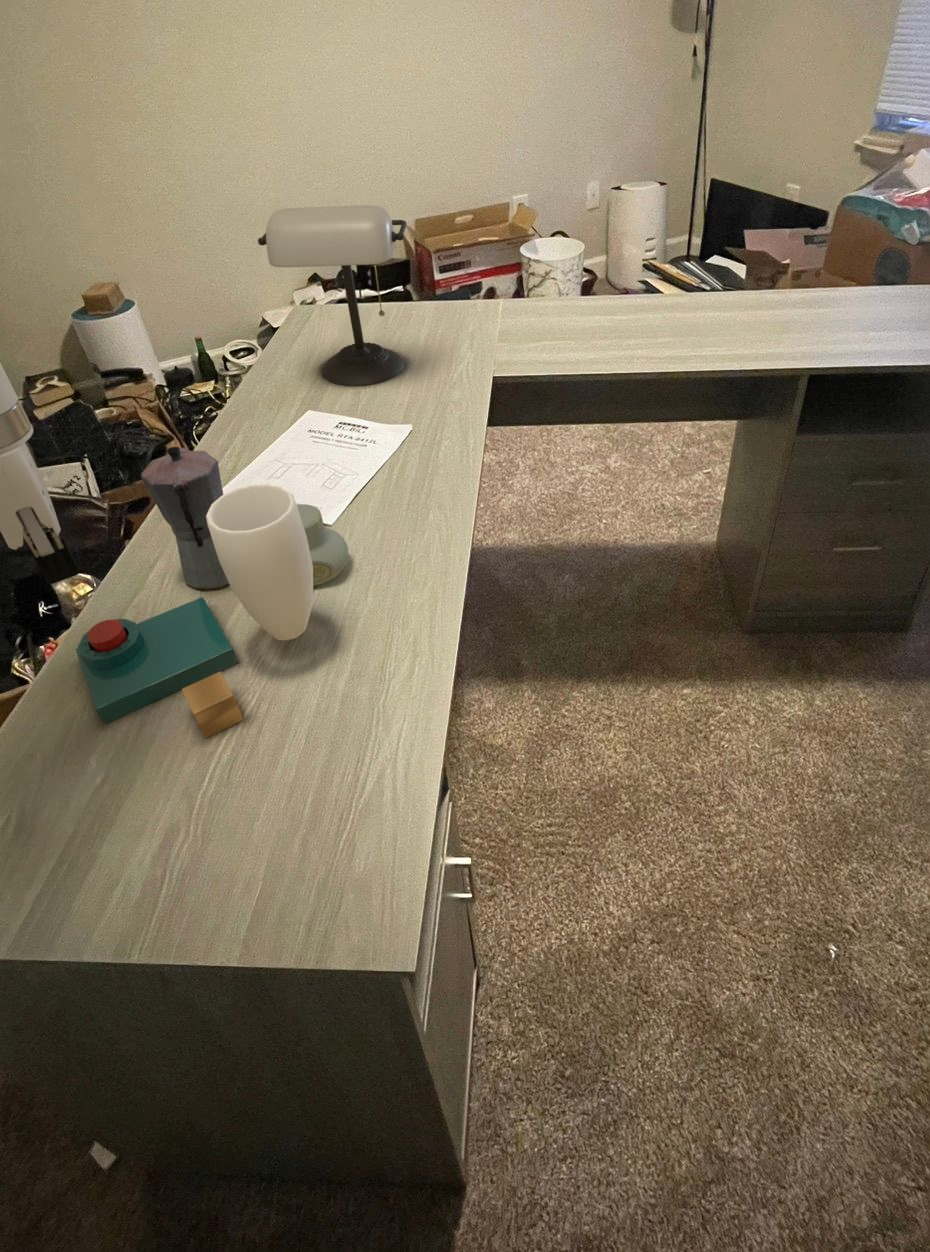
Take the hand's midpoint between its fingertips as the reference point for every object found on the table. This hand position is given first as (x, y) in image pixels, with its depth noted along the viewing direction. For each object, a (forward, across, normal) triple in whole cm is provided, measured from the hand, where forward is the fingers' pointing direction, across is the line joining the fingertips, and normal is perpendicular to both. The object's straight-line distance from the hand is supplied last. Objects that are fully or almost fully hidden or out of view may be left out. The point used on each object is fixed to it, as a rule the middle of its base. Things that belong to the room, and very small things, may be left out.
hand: (63, 575), depth 81 cm
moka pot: (+16, -12, +17) cm, 26 cm away
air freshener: (+16, -4, +28) cm, 33 cm away
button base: (+16, +1, +5) cm, 17 cm away
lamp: (+16, -59, +63) cm, 88 cm away
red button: (+12, -2, +1) cm, 12 cm away
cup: (+16, +8, +20) cm, 27 cm away
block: (+16, +14, +8) cm, 23 cm away
